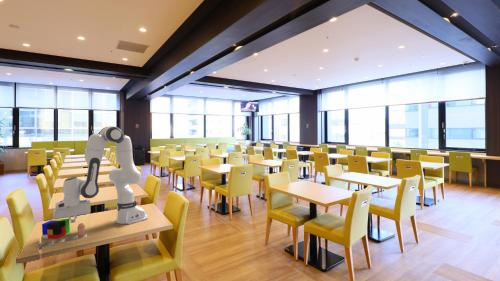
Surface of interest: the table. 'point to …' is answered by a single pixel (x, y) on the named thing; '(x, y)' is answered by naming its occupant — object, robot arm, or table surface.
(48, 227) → the puzzle toy
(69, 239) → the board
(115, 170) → the robot arm
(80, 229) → the pawn
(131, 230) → the table surface
